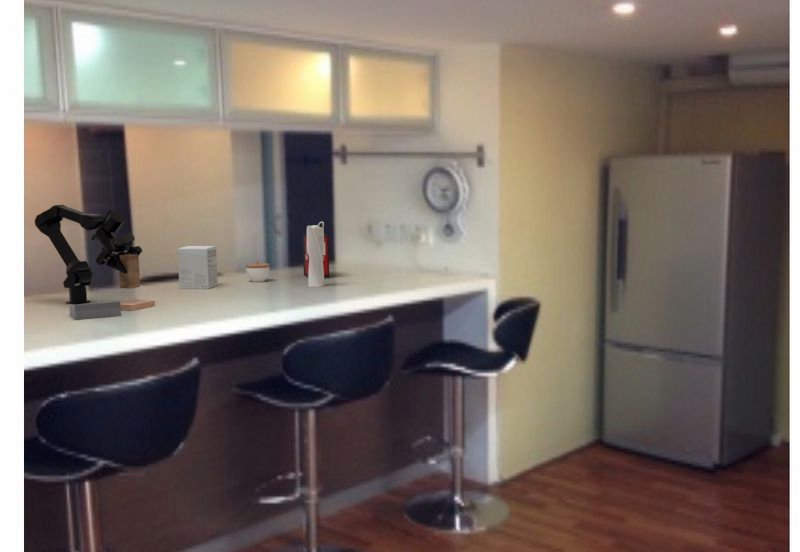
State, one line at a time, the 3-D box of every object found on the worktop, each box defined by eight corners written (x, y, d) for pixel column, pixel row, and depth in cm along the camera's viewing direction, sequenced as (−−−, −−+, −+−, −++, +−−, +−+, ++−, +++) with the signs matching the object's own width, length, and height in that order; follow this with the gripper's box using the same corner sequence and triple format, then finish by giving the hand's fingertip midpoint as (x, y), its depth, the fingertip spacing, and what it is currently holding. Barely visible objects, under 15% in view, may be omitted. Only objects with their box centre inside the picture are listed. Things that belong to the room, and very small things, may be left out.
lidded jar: (263, 283, 372) (262, 262, 371) (242, 282, 376) (241, 261, 374) (274, 280, 382) (273, 259, 381) (253, 279, 386) (253, 259, 384)
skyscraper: (328, 285, 363) (327, 221, 360) (322, 287, 356) (321, 222, 352) (311, 284, 365) (310, 221, 362) (305, 287, 358) (303, 222, 355)
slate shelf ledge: (69, 314, 293) (69, 300, 292) (113, 310, 300) (113, 297, 300) (75, 319, 283) (74, 305, 282) (120, 315, 290) (120, 301, 289)
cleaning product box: (329, 278, 387) (328, 235, 385) (310, 279, 384) (309, 236, 382) (321, 274, 403) (321, 233, 400) (303, 275, 400) (302, 233, 398)
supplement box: (218, 284, 368) (217, 245, 365) (208, 289, 355) (207, 248, 352) (189, 284, 369) (187, 245, 367) (178, 289, 356) (176, 248, 354)
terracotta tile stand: (107, 308, 306) (106, 303, 305) (131, 303, 316) (130, 298, 316) (131, 310, 300) (131, 305, 300) (154, 305, 311) (154, 300, 311)
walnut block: (119, 287, 306) (118, 255, 305) (129, 286, 311) (128, 254, 309) (130, 288, 304) (128, 256, 302) (140, 286, 308) (138, 254, 307)
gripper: (99, 228, 298) (123, 260, 294) (137, 224, 314) (161, 255, 311) (85, 249, 302) (108, 280, 299) (123, 244, 319) (146, 274, 315)
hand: (132, 272), depth 306 cm, fingers closed on walnut block, 5 cm apart
